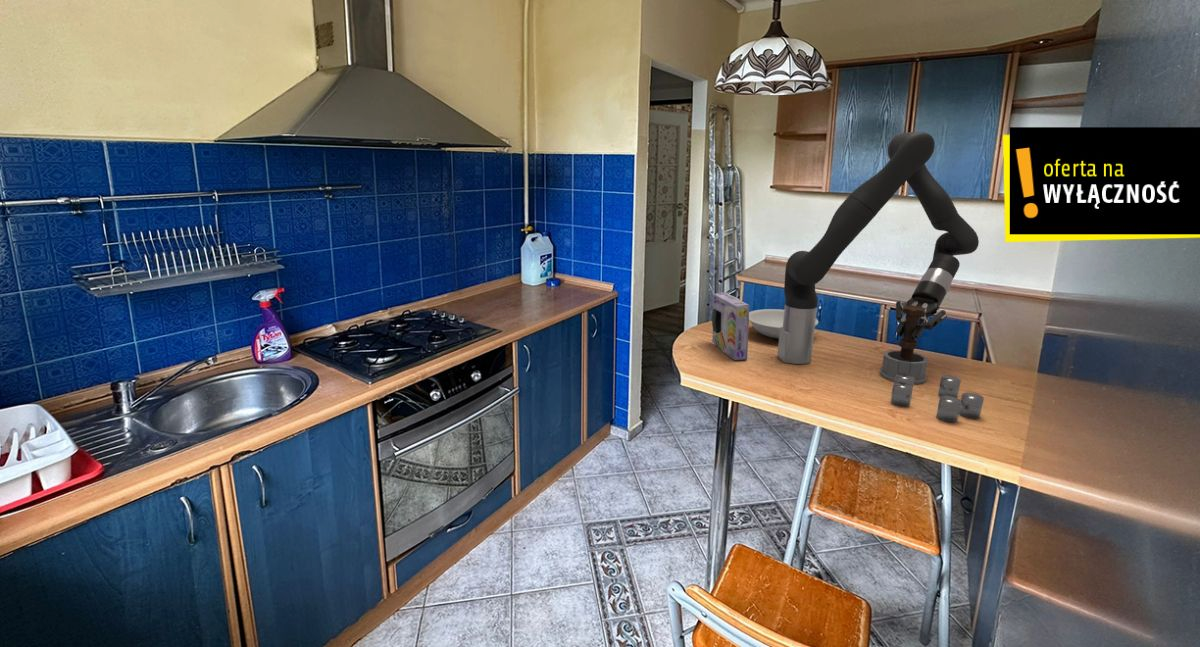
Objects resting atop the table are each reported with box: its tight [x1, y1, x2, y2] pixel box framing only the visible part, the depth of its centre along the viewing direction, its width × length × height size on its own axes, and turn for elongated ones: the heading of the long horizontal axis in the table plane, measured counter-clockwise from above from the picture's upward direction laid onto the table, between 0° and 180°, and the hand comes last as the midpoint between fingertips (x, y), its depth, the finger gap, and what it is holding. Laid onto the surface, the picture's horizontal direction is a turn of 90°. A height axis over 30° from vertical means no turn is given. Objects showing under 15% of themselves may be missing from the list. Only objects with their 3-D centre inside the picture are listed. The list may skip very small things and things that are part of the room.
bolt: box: [898, 305, 925, 360], centre depth 159 cm, size 6×5×15 cm
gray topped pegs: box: [890, 373, 985, 424], centre depth 143 cm, size 19×19×5 cm
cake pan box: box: [711, 291, 750, 361], centre depth 180 cm, size 19×5×18 cm, turn 11°
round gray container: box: [878, 349, 929, 385], centre depth 162 cm, size 12×12×6 cm
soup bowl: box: [749, 308, 819, 340], centre depth 198 cm, size 24×24×7 cm
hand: (906, 336), depth 158 cm, fingers closed on bolt, 3 cm apart
